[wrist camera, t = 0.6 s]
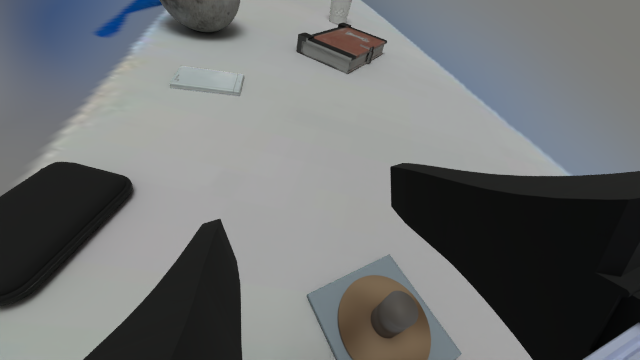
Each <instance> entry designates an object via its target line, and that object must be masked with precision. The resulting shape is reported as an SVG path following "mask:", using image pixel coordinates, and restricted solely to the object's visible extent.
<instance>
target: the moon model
mask: <svg viewBox="0 0 640 360" xmlns="http://www.w3.org/2000/svg"><path fill="white" fill-rule="evenodd" d="M160 2H161V3H162V5H163V6H164V8H165V9H166V10H167V11H168V12H169V13H170V14H171V15H172V16H173V17H174V18H175V19H176V20H177V21H179V22H180V23H181V24H183V25H185V26H186V27H188V28H191V29H193V30H196V31H201V32H215V31H218V30H221V29H223V28H225V27H226V26H227V25H229V24H230V23H231V21H232V20H233V19H234V17H235V16H236V14H237V11H238V8H239V5H240V0H160Z"/></svg>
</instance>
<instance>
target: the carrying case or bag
mask: <svg viewBox="0 0 640 360" xmlns="http://www.w3.org/2000/svg"><path fill="white" fill-rule="evenodd" d="M131 191H132V183H131V181H130V179H129V178H127V177H125V176H123V175H119V174H115V173H112V172H108V171H104V170H100V169H96V168H92V167H88V166H85V165H81V164H77V163H69V162H55V163H53V164H50V165H48V166H46V167H45V168H42V169H41V170H40V171H38V172H37V173H35V174H34V175H32V176H31V177H29V178H28V179H26V180H25V181H23V182H22V183H20V184H19V185H17V186H16V187H14V188H13V189H11V190H10V191H8V192H7V193H5V194H4V195H2V196H1V197H0V306H1V305H6V304H10V303H13V302H15V301H18V300H20V299H22V298H24V297H26V296H27V295H29V294H30V293H32V292H33V291H34V290H35V289H36V288H38V287H39V286H40V285H41V284H42V283H43V282H44V281H45V280H46V279H47V278H48V277H49V276H50V275H51V274H52V273H53V272H54V271H55V270H56V269H57V268H58V267H59V266H60V265H61V264H62V263H63V262H64V261H65V260H66V259H67V258H68V257H69V256H70V255H71V254H72V253H73V252H74V251H75V250H76V249H77V248H78V247H79V246H80V245H81V244H82V243H83V242H84V241H85V240H86V239H87V238H88V237H89V236H90V235H91V234H92V233H93V232H94V231H95V230H96V229H97V228H98V227H99V226H100V225H101V224H102V223H103V222H104V221H105V220H106V219H107V218H108V217H109V216H110V215H111V213H112V212H113V211H114V210H115V209H116V208H117V207H118V206H119V205H120V204H121V203H122V202H123V201H124V200H125V199H126V198H127V197H128V196H129V194H130V193H131Z"/></svg>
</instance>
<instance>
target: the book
mask: <svg viewBox="0 0 640 360" xmlns="http://www.w3.org/2000/svg"><path fill="white" fill-rule="evenodd" d="M386 43H387V40H384V39H381V38H379V37H376V36H373V35H371V34H368V33H365V32H363V31H360V30H357V29H355V28H352V27H351V25H349V24H346V23H339V25H338V28H334V29H330V30H327V31H323V32H320V33H316V34H313V35H310V34H308V33H302V34H298V43H297V52H298V53H300V54H302V55H305V56H307V57H309V58H312V59H314V60H316V61H318V62H321V63H323V64H325V65H328V66H330V67H332V68H334V69H337V70H339V71H341V72H344V73H346V74H349V73H351V72H352V71H354V70H356V69H358V68H359V67H361V66H363V65H364V64H369V63H370V62H371V60H373V59H375V58H377V57H378V56H380V55H382V54H383V53H382V50H383V47H384V44H386Z"/></svg>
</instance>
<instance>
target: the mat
mask: <svg viewBox="0 0 640 360" xmlns="http://www.w3.org/2000/svg"><path fill="white" fill-rule="evenodd" d="M369 275H380V276H385V277H388V278H391V279H393V280H395V281H397V282H398V283H400V284H401V285H403V286H404V287H405V288H407V289H408V290H409V291H410V292H411V293H412V294H413V295H414V297H415V298H416V299H417V300H418V302H419V303H420V305H421V307H422V309H423V310H424V312H425V315H426V317H427V320H428V323H429V327H430V333H431V348H430V354H429V357H428V360H455V359H456V358H457V357H459V356H460V355H461V354H462V353H461V352H460V350H459V349H458V348H457V346H456V345H455V343H454V342H453V341H452V339H451V338H450V337H449V335H448V334H447V332H446V331H445V330H444V328H443V327H442V326H441V324H440V323H439V321H438V320H437V319H436V317H435V316H434V315H433V313H432V312H431V311H430V309H429V308H428V306H427V305H426V304H425V302H424V301H423V300H422V298H421V297H420V295H419V294H418V293H417V291H416V290H415V289H414V287H413V286H412V284H411V283H410V282H409V280H408V279H407V278H406V276H405V275H404V273H403V272H402V271H401V269H400V268H399V267H398V265H397V264H396V262H395V261H394V260H393V258H392V257H391V256H390V254H389V255H387V256H385V257H383V258H381V259H379V260H377V261H375V262H373V263H371V264H369V265H367V266H365V267H363V268H361V269H359V270H356V271H354V272H352V273H350V274H348V275H346V276H344V277H342V278H340V279H338V280H336V281H334V282H332V283H330V284H328V285H326V286H324V287H322V288H320V289H317V290H315V291H313V292H311V293H309V294H307V298H308V300H309V302H310V304H311V306H312V308H313V311H314V313H315V315H316V317H317V319H318V321H319V324H320V326H321V328H322V330H323V332H324V334H325V337H326V339H327V341H328V343H329V345H330V347H331V349H332V352H333V354H334V356H335V358H336V360H352V359H351V357H350V356H349V354H348V353H347V351H346V349H345V347H344V345H343V343H342V340H341V337H340V334H339V328H338V308H339V304H340V301H341V298H342V296H343V294H344V293H345V291H346V290H347V288H348V287H349V286H350V285H351V284H352V283H353V282H354V281H356V280H358V279H359V278H362V277H365V276H369Z"/></svg>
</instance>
